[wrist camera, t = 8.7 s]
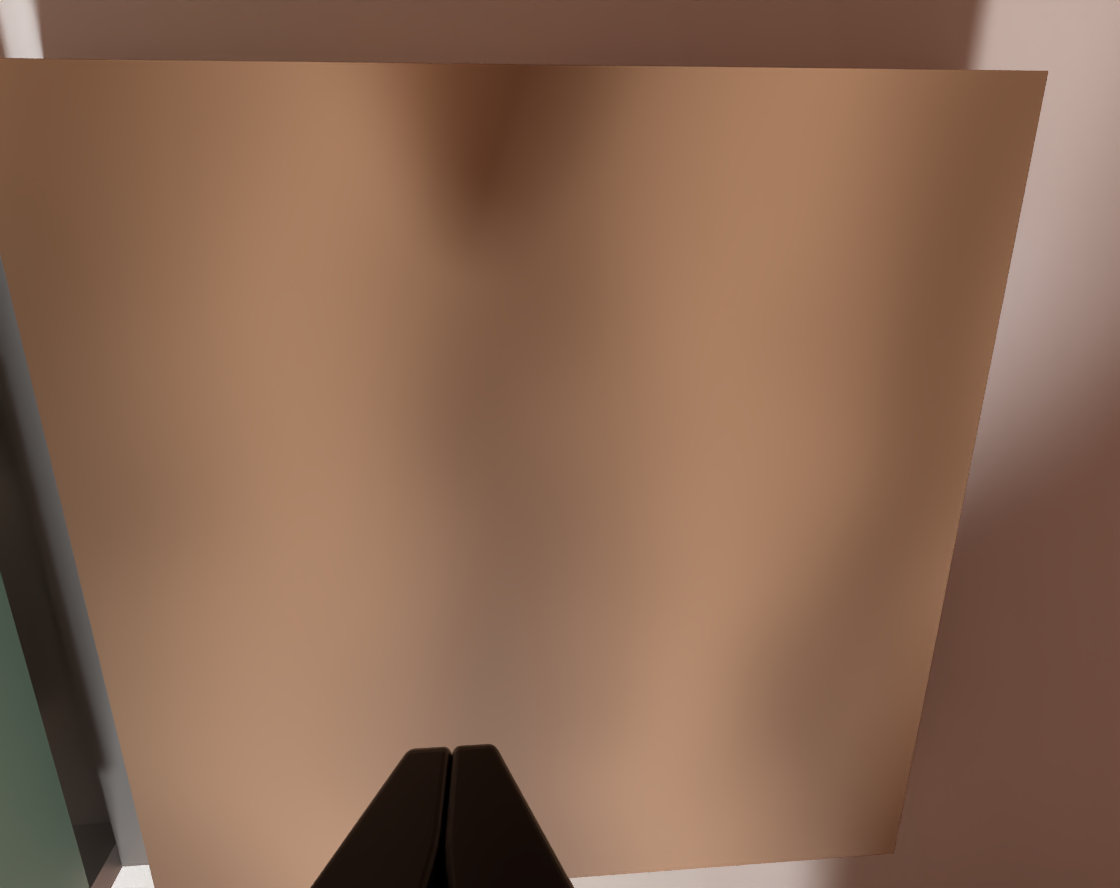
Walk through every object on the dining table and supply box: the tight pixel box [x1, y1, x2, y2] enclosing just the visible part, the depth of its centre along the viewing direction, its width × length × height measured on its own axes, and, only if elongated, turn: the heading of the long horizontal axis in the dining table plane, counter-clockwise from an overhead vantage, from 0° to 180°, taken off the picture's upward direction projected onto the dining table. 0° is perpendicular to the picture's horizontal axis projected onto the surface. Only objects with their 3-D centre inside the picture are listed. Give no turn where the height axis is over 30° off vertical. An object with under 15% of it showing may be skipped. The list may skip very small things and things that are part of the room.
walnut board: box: [0, 58, 1048, 888], centre depth 13 cm, size 14×14×2 cm
